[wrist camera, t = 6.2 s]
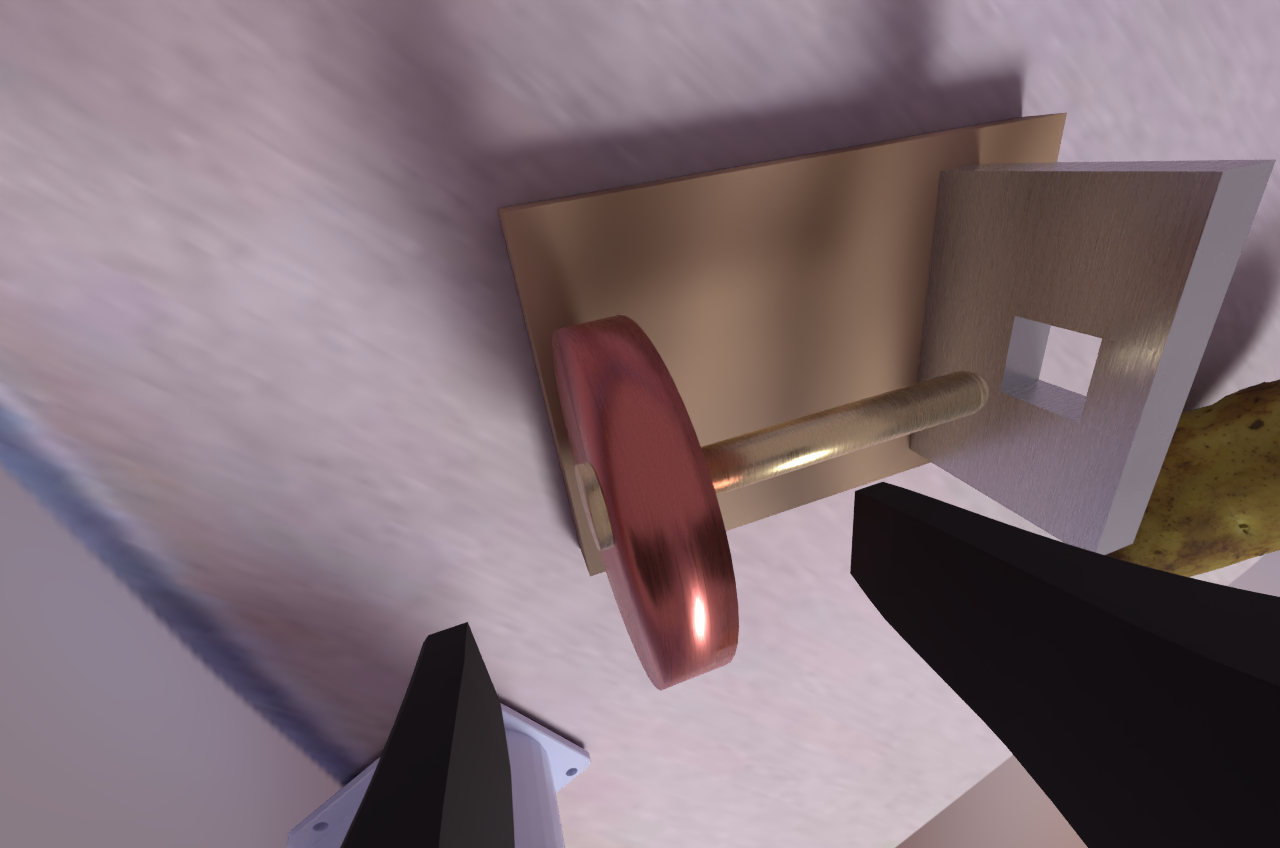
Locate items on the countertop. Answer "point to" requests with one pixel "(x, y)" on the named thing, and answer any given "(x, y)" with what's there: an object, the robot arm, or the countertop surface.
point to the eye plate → (1078, 325)
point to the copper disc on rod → (695, 482)
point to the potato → (1215, 488)
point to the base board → (760, 290)
